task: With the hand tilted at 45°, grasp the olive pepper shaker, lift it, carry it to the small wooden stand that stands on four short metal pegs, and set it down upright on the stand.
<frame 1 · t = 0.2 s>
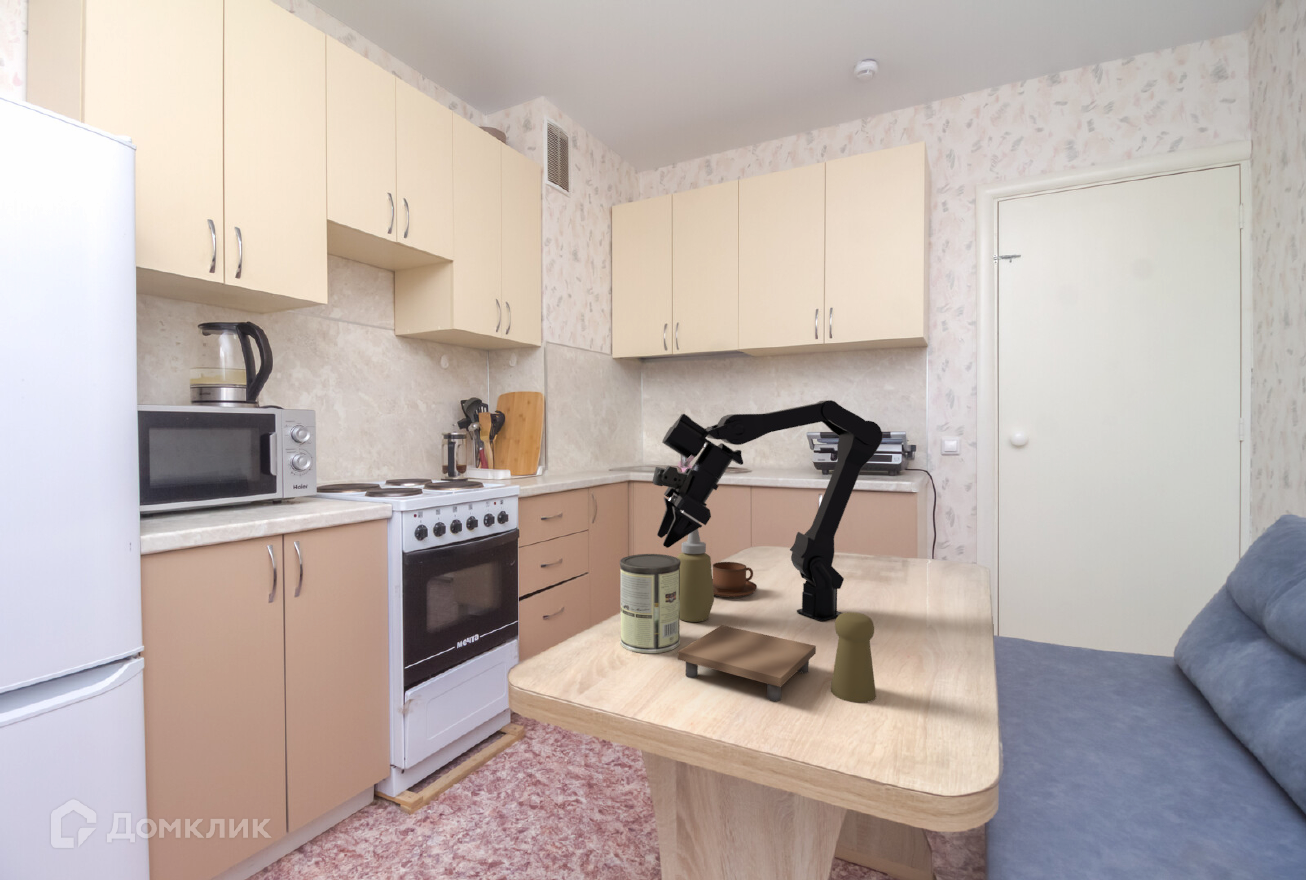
hand: (662, 541, 114), 15 cm above the table, tool tilted 35°, fingers open, 9 cm apart
squeeze bottle: (692, 618, 116), on the table
coffee can: (649, 643, 103), on the table
small wooden stand: (747, 672, 91), on the table
olive pepper shaker: (853, 694, 84), on the table
cup and saucer: (729, 594, 133), on the table
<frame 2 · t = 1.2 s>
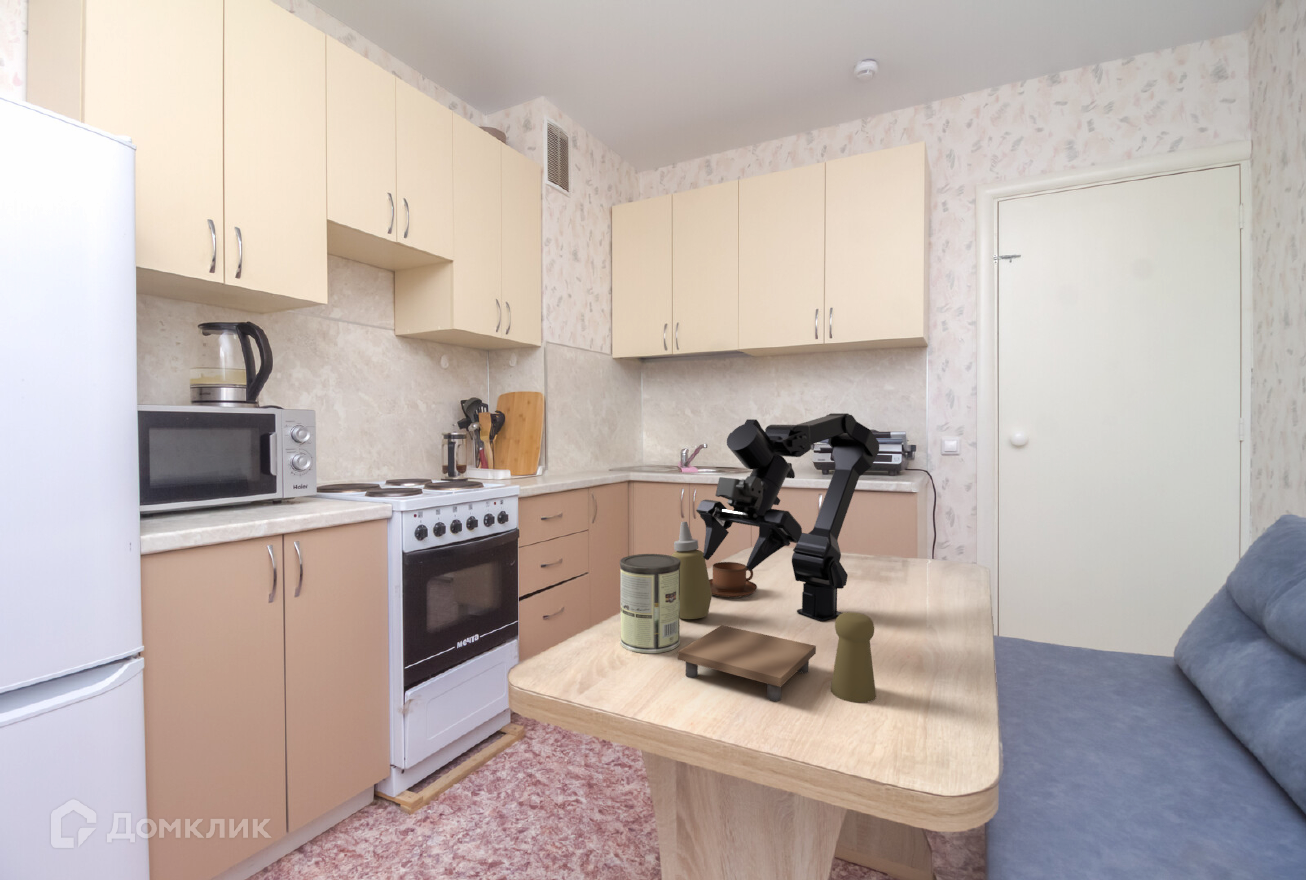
hand: (726, 563, 99), 14 cm above the table, tool tilted 40°, fingers open, 9 cm apart
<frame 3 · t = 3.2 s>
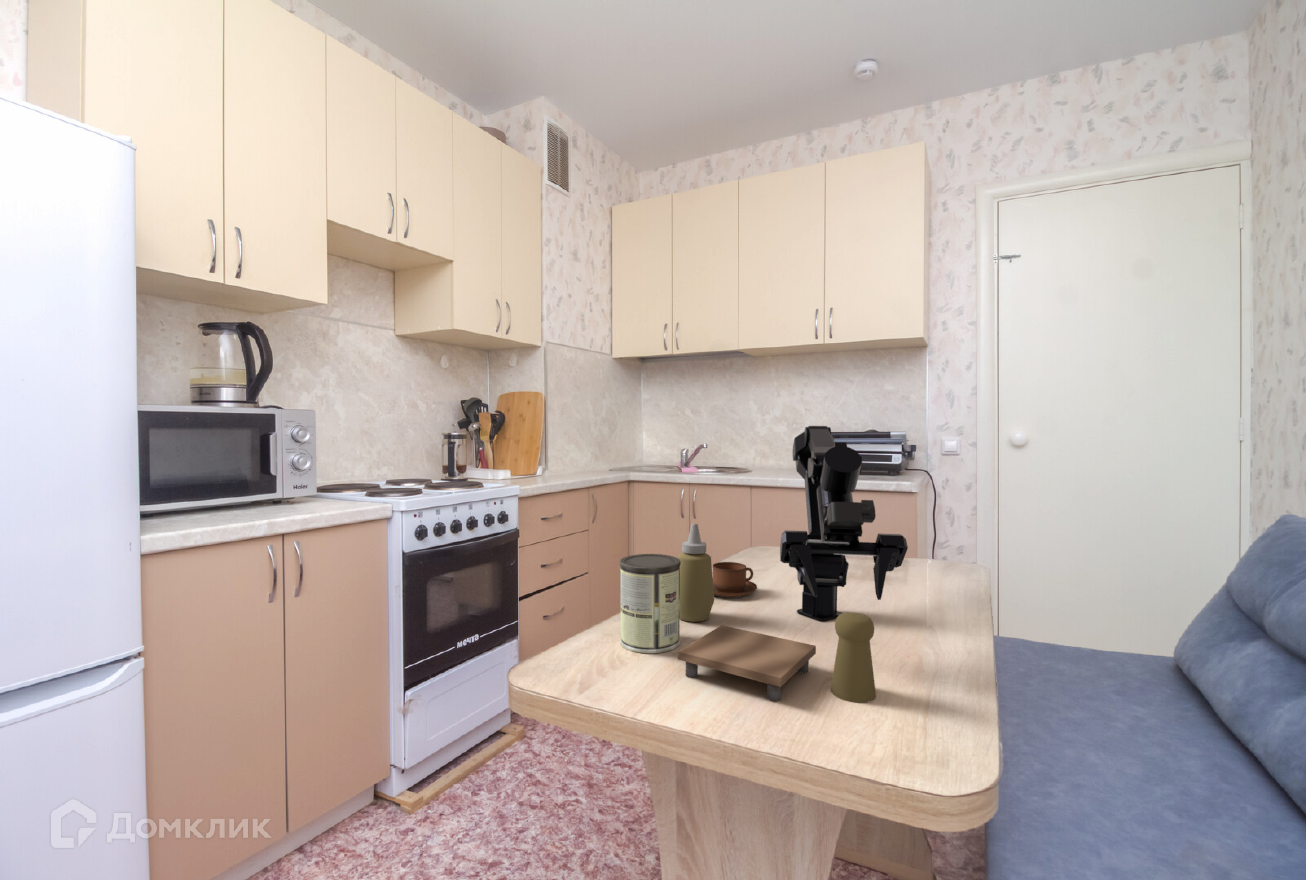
hand: (847, 597, 90), 12 cm above the table, tool tilted 45°, fingers open, 9 cm apart
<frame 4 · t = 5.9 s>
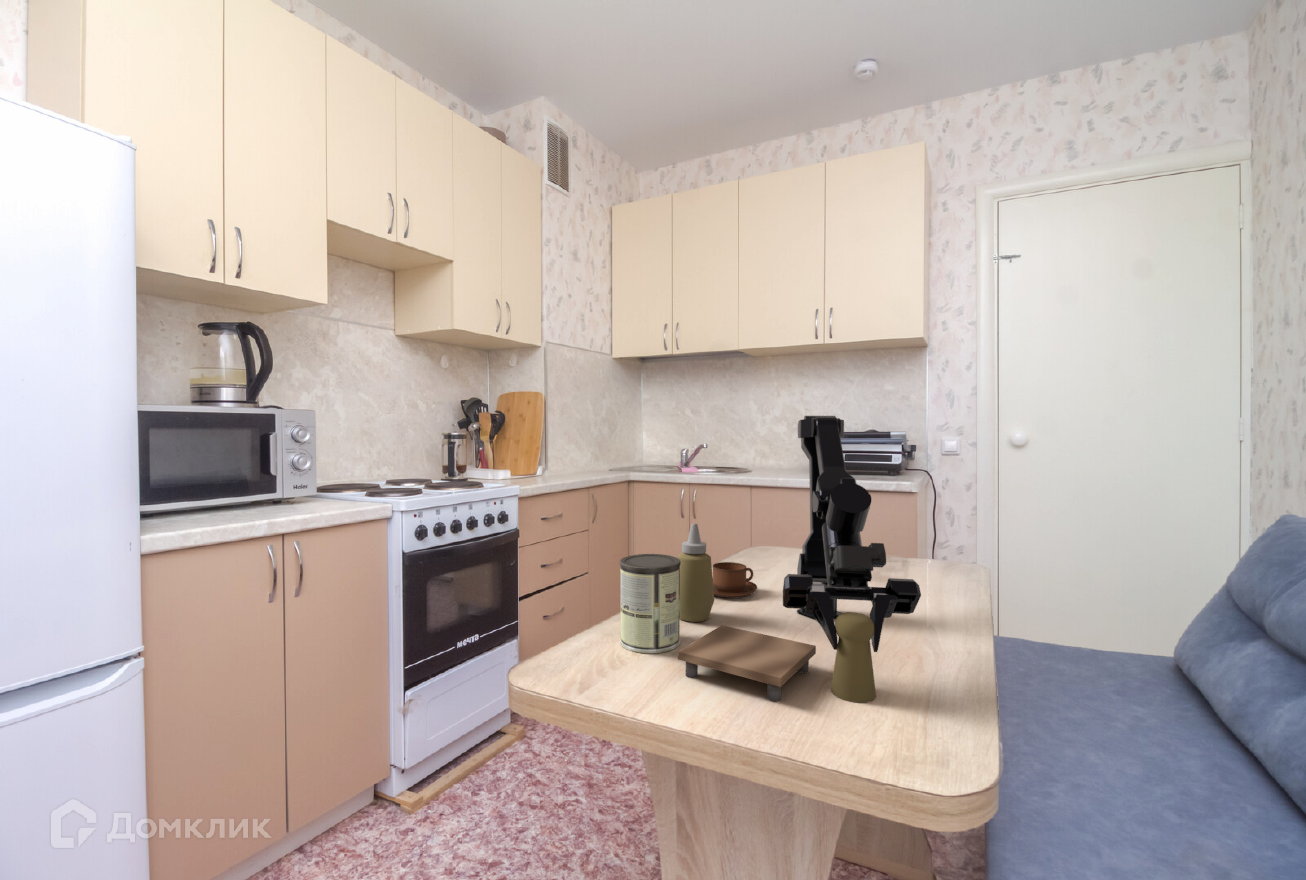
hand: (855, 649, 83), 7 cm above the table, tool tilted 45°, fingers closed on olive pepper shaker, 5 cm apart
olive pepper shaker: (853, 693, 84), on the table, touching gripper
everything else where it was.
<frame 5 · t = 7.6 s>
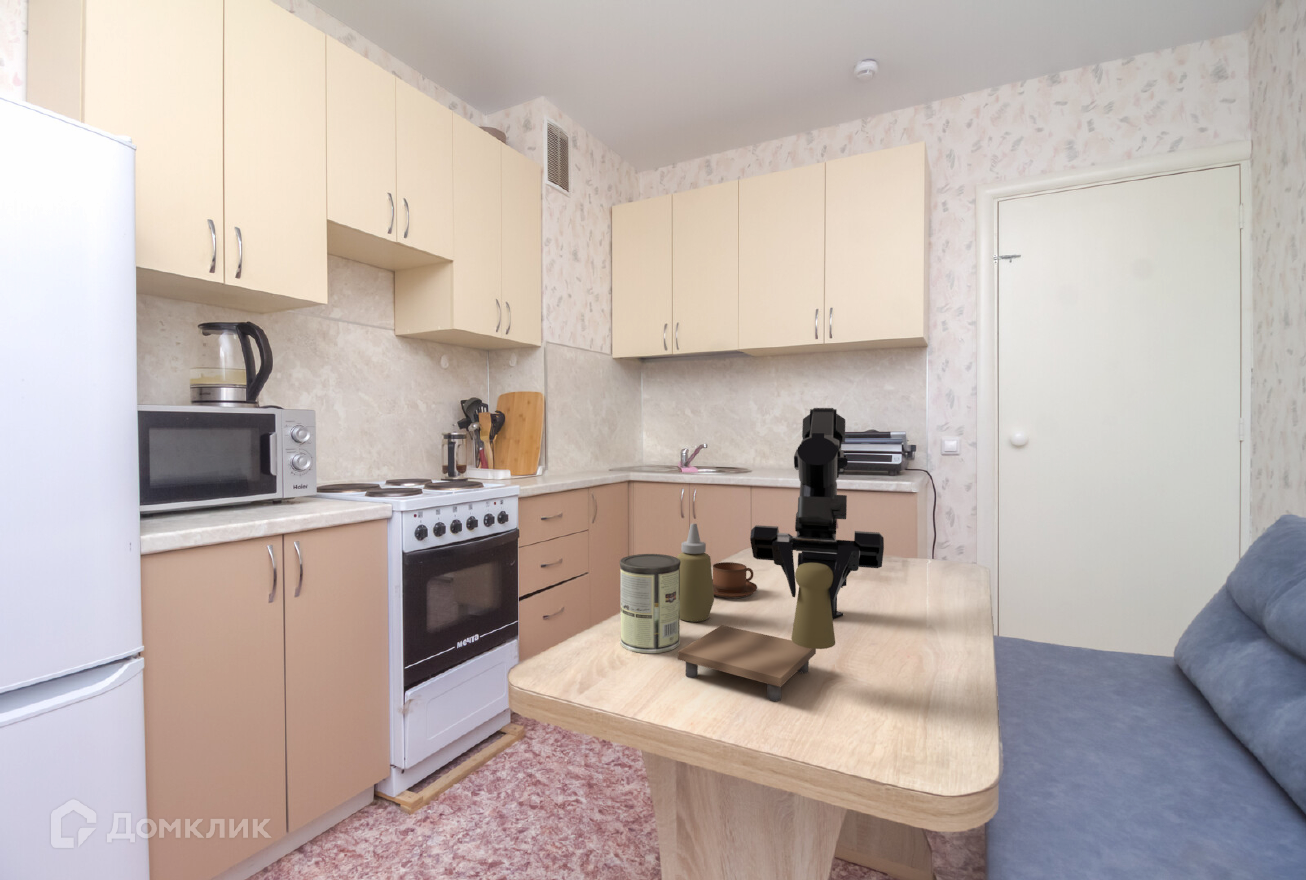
hand: (813, 597, 84), 13 cm above the table, tool tilted 45°, fingers closed on olive pepper shaker, 5 cm apart
olive pepper shaker: (813, 642, 86), point 6 cm above the table, touching gripper
everything else where it was.
when the fingers open (11 cm above the table, at t = 9.4 s): olive pepper shaker drops 1 cm, resting on small wooden stand.
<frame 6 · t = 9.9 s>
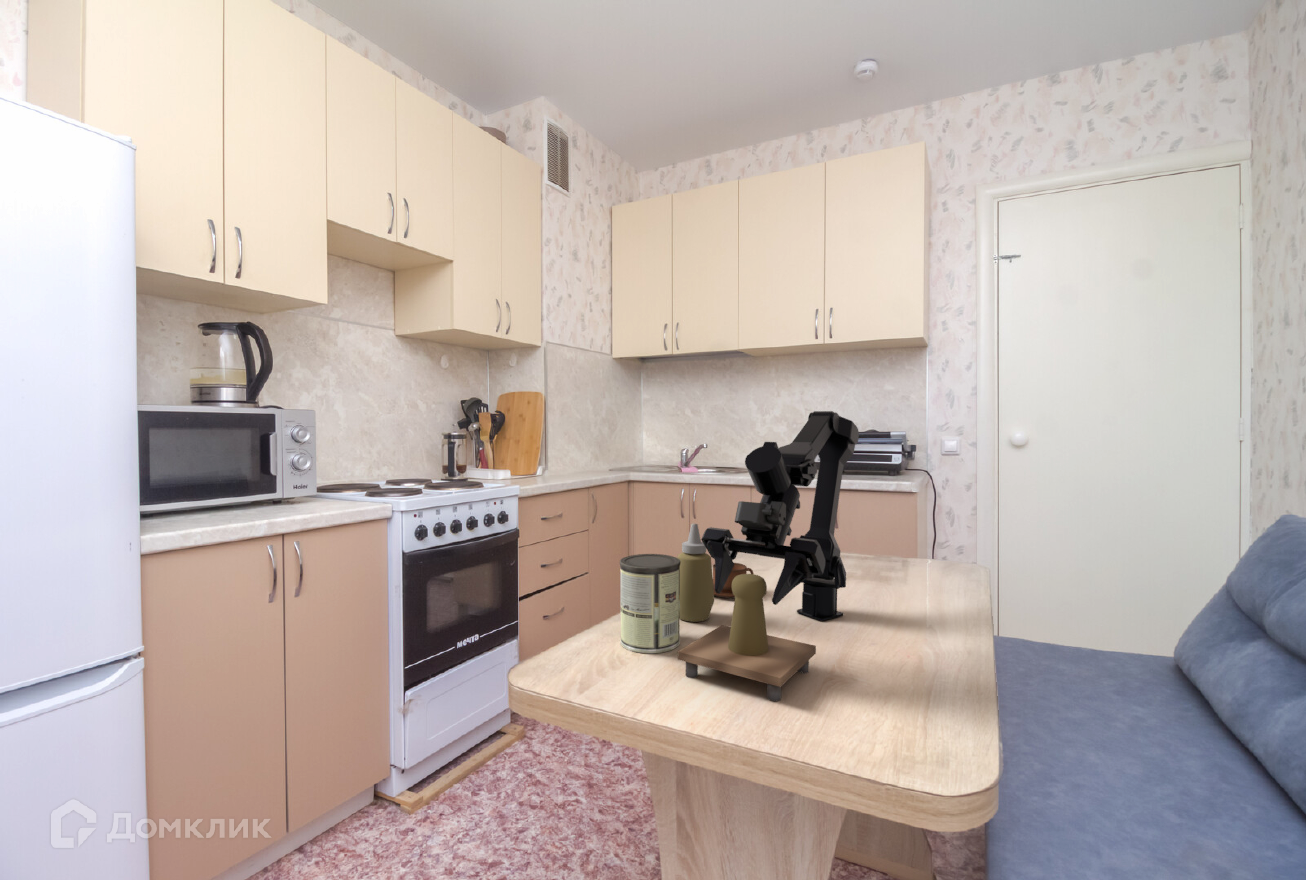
hand: (744, 597, 89), 12 cm above the table, tool tilted 45°, fingers open, 9 cm apart
olive pepper shaker: (748, 649, 91), point 4 cm above the table, touching small wooden stand
everything else where it was.
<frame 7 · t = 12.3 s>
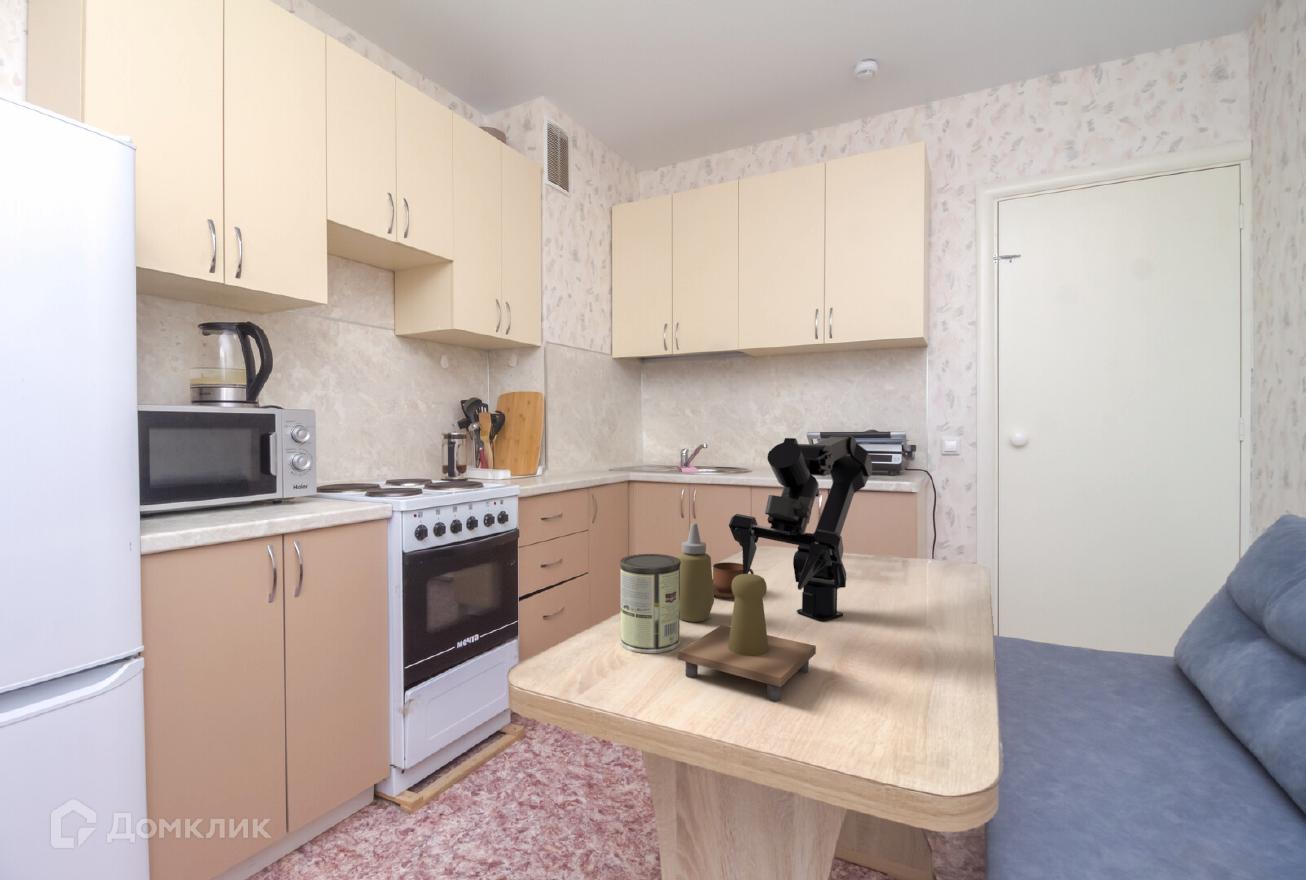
hand: (771, 582, 98), 12 cm above the table, tool tilted 40°, fingers open, 9 cm apart
nothing on the table moved.
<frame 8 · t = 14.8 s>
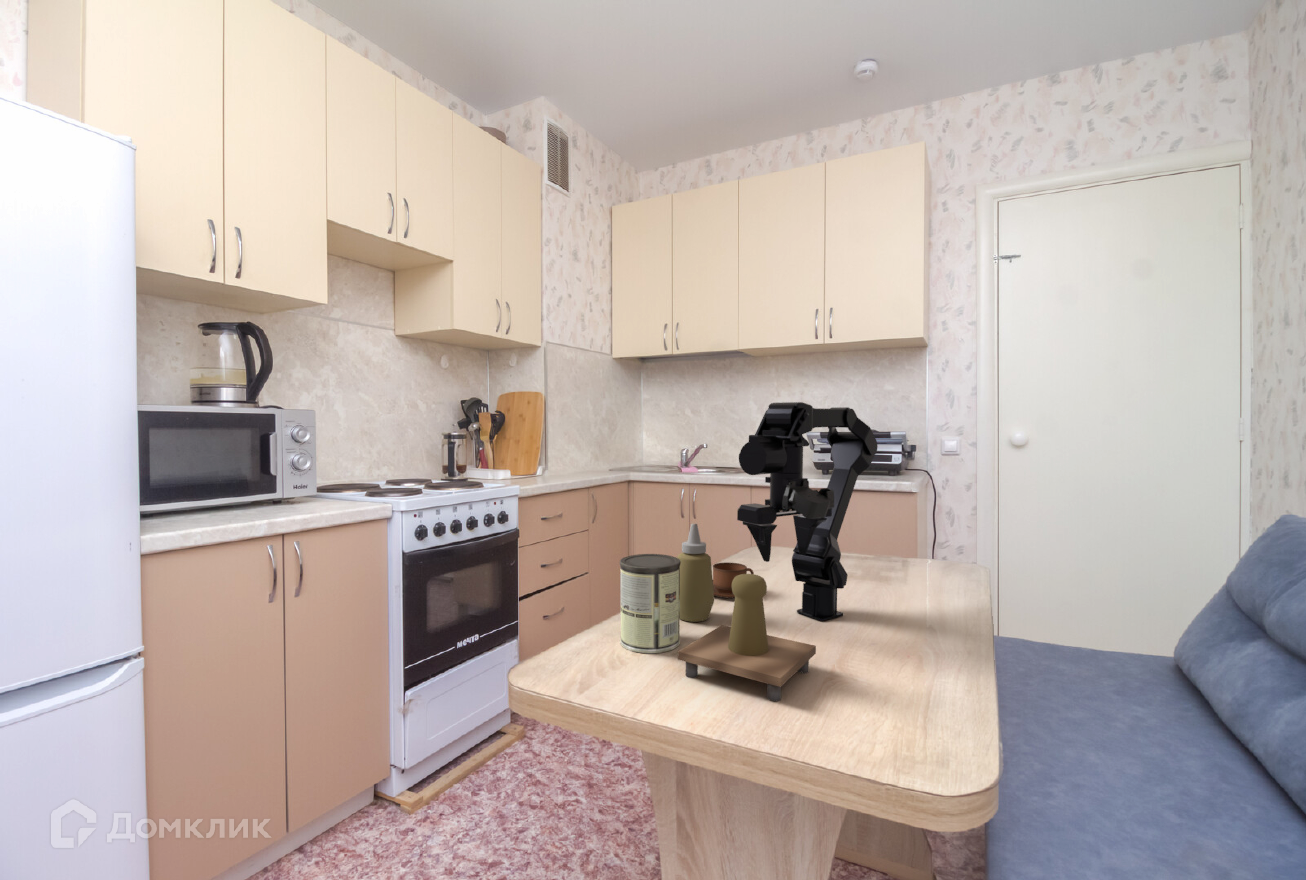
hand: (784, 558, 109), 13 cm above the table, tool pointing down, fingers open, 9 cm apart
nothing on the table moved.
at the end: olive pepper shaker inside the target area on the small wooden stand (0.2 cm from its centre), point 3.5 cm above the small wooden stand's base; olive pepper shaker tilted 0°; the gripper is holding nothing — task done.
